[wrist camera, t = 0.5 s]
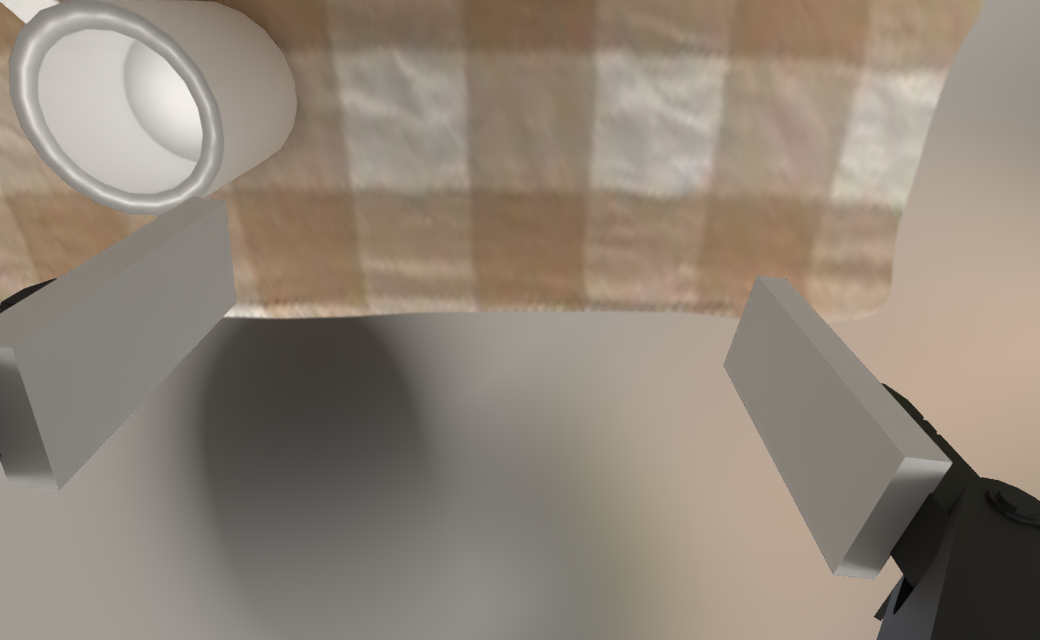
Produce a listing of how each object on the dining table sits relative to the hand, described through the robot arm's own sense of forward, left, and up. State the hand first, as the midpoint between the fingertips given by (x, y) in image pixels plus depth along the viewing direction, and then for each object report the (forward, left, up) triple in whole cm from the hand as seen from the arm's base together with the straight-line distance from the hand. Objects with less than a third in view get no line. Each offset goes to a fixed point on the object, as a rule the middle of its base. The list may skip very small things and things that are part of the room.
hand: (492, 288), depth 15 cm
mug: (0, -20, -28) cm, 34 cm away
